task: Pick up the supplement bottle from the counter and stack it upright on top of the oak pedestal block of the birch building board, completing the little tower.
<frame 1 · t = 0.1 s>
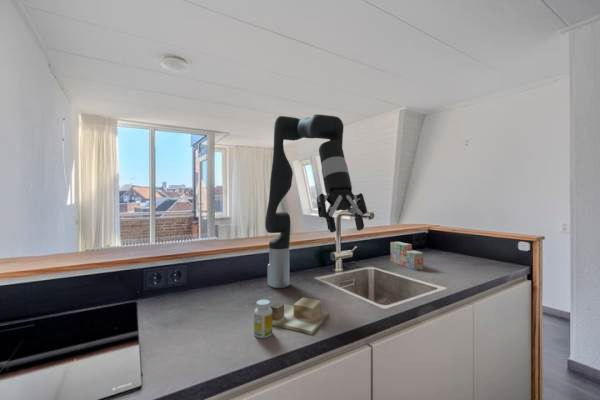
hand: (347, 230, 75), 31 cm above the worktop, tool tilted 20°, fingers open, 8 cm apart
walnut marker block: (275, 320, 92), resting on birch board
supplement bottle: (263, 334, 83), on the worktop
stack of blocks: (405, 265, 162), on the worktop
birch board: (295, 319, 92), on the worktop
oak pedestal: (307, 317, 94), resting on birch board
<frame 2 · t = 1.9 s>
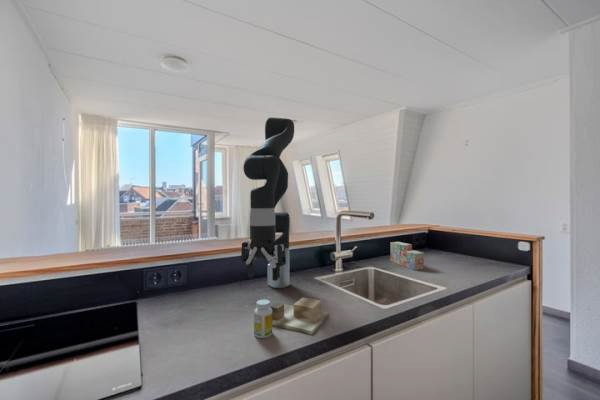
hand: (263, 278, 82), 17 cm above the worktop, tool pointing down, fingers open, 8 cm apart
nothing on the worktop moved.
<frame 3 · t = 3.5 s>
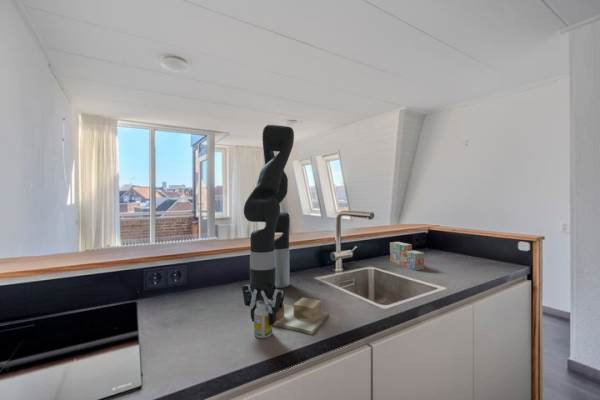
hand: (263, 322, 82), 4 cm above the worktop, tool pointing down, fingers closed on supplement bottle, 5 cm apart
supplement bottle: (263, 334, 83), on the worktop, touching gripper
everything else where it was.
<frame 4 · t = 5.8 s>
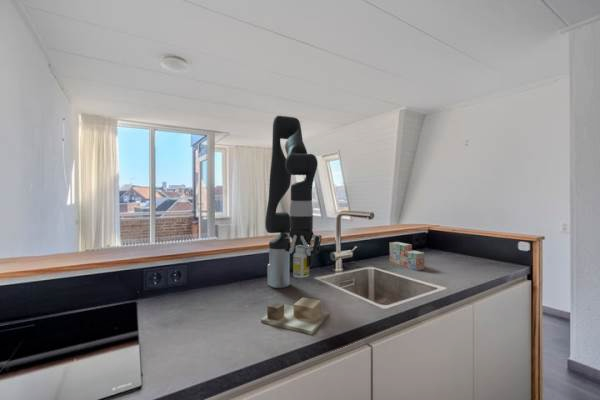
hand: (301, 264, 92), 18 cm above the worktop, tool pointing down, fingers closed on supplement bottle, 5 cm apart
supplement bottle: (301, 276, 93), point 14 cm above the worktop, touching gripper
everything else where it was.
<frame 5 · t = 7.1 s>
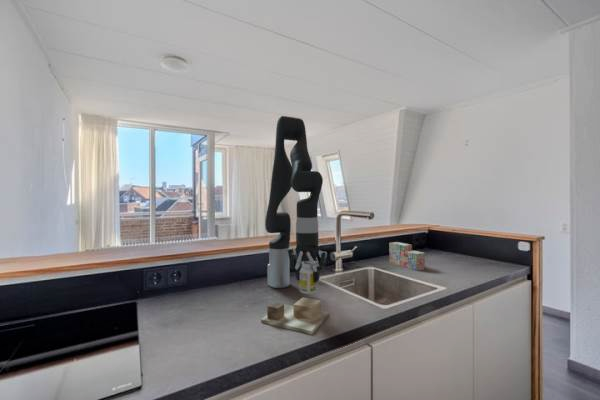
hand: (307, 280, 94), 12 cm above the worktop, tool pointing down, fingers closed on supplement bottle, 5 cm apart
supplement bottle: (307, 291, 94), point 9 cm above the worktop, touching gripper
when the fingers open (10 cm above the worktop, at t = 8.0 s): supplement bottle drops 1 cm, resting on oak pedestal.
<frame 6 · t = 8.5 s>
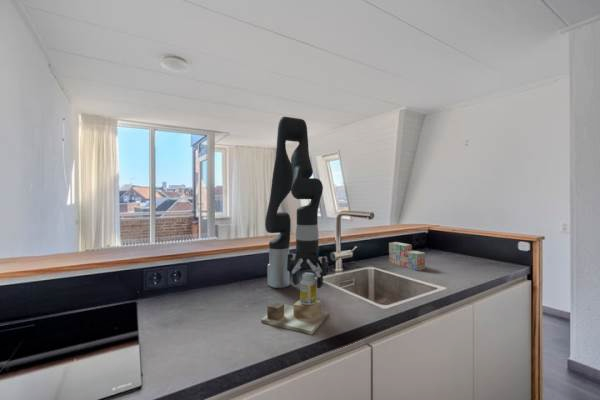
hand: (307, 285, 94), 11 cm above the worktop, tool pointing down, fingers open, 8 cm apart
supplement bottle: (308, 303, 94), point 5 cm above the worktop, touching oak pedestal
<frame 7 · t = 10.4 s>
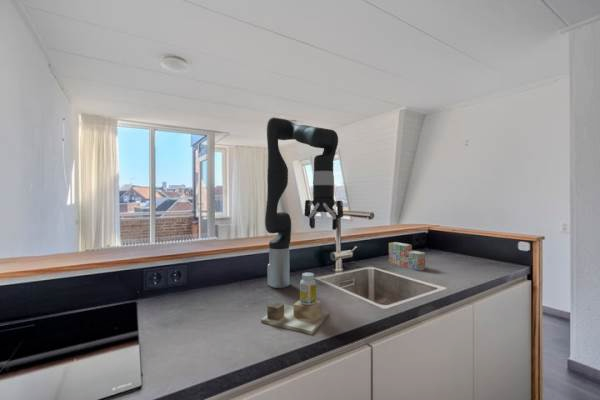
hand: (323, 228, 101), 29 cm above the worktop, tool pointing down, fingers open, 8 cm apart
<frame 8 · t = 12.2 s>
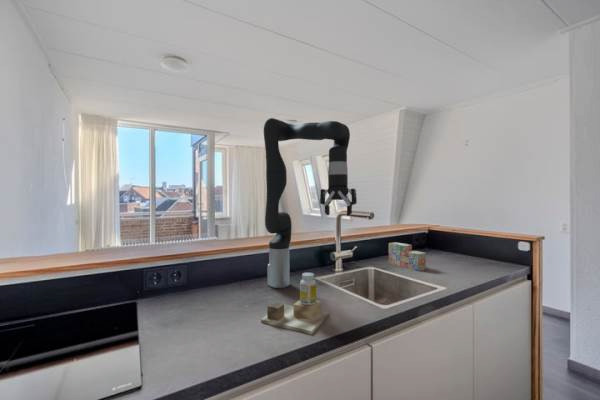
hand: (338, 215, 109), 33 cm above the worktop, tool pointing down, fingers open, 8 cm apart
at the end: supplement bottle 0.2 cm off-centre on the oak pedestal, point 4.8 cm above the oak pedestal's base; supplement bottle tilted 0°; the gripper is holding nothing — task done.
